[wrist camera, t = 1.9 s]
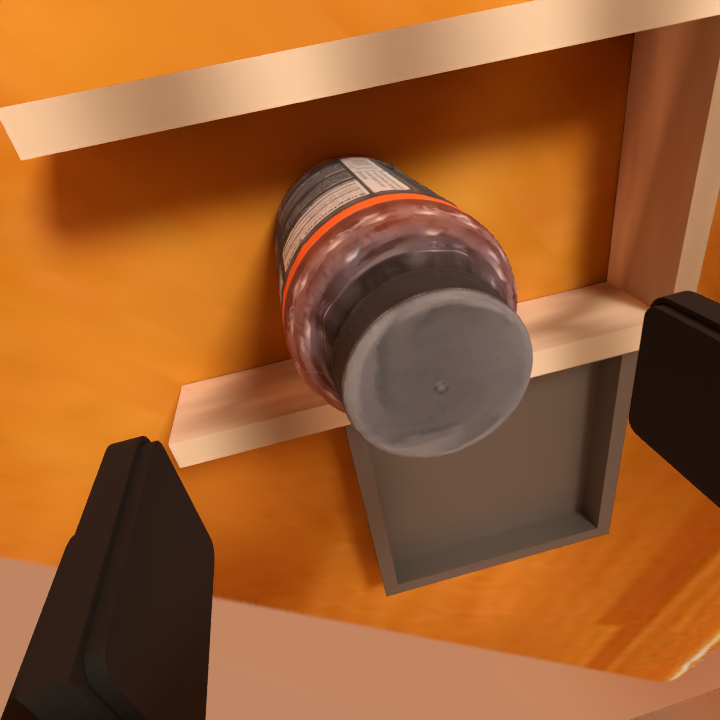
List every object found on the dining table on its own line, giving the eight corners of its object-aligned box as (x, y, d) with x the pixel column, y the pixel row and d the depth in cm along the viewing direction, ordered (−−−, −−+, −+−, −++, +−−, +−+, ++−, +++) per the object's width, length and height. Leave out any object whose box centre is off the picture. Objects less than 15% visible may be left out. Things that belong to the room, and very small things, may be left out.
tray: (612, 316, 24) (641, 335, 22) (588, 507, 31) (608, 533, 29) (334, 385, 23) (341, 412, 21) (378, 565, 30) (386, 596, 28)
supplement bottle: (442, 257, 20) (608, 418, 11) (321, 325, 21) (377, 536, 11) (382, 118, 17) (541, 173, 8) (241, 203, 18) (225, 352, 8)
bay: (666, -23, 17) (771, -47, 13) (623, 299, 23) (686, 337, 20) (52, 101, 15) (-6, 109, 12) (191, 407, 22) (180, 468, 18)
